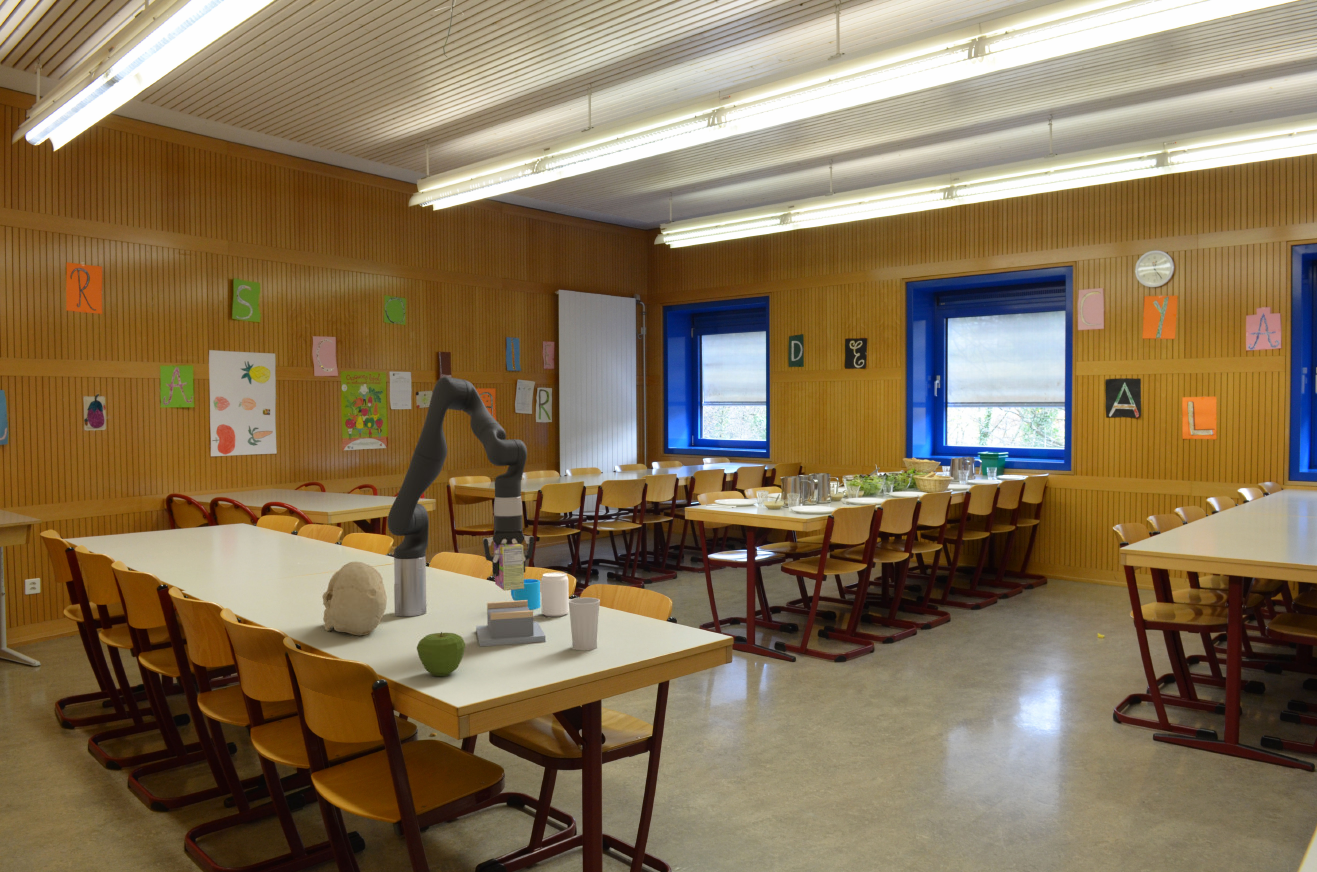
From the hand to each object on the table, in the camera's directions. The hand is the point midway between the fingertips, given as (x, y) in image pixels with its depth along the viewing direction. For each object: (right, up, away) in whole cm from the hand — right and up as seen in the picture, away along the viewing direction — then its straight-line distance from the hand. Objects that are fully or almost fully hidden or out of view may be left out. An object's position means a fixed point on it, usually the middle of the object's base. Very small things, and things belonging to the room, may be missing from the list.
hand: (509, 575), depth 239 cm
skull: (-45, -17, +8) cm, 49 cm away
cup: (+21, -17, -12) cm, 30 cm away
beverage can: (+9, -16, +26) cm, 32 cm away
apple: (-10, -18, -34) cm, 40 cm away
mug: (-2, -16, +38) cm, 41 cm away
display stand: (0, -17, 0) cm, 17 cm away
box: (0, -3, 0) cm, 3 cm away
